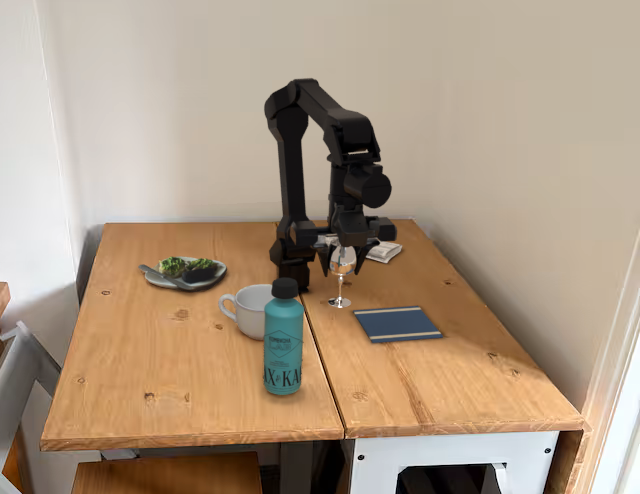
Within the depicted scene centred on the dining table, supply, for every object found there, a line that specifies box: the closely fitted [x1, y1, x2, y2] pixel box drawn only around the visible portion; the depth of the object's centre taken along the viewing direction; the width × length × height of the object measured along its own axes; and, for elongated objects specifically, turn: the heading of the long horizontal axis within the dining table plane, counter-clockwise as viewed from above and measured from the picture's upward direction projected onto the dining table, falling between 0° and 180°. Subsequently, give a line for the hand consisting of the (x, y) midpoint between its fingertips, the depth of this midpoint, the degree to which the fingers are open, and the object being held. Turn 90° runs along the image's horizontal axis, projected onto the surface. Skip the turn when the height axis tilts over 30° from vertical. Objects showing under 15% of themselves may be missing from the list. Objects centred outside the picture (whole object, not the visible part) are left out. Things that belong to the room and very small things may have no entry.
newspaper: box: [325, 237, 403, 264], centre depth 177 cm, size 23×12×2 cm, turn 58°
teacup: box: [217, 283, 275, 341], centre depth 136 cm, size 14×11×8 cm
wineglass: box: [327, 238, 358, 308], centre depth 134 cm, size 6×6×12 cm
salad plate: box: [137, 255, 228, 293], centre depth 159 cm, size 19×18×5 cm
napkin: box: [352, 305, 444, 344], centre depth 141 cm, size 14×14×1 cm
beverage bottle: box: [262, 278, 305, 396], centre depth 113 cm, size 6×7×20 cm
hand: (340, 275), depth 134 cm, fingers closed on wineglass, 5 cm apart
